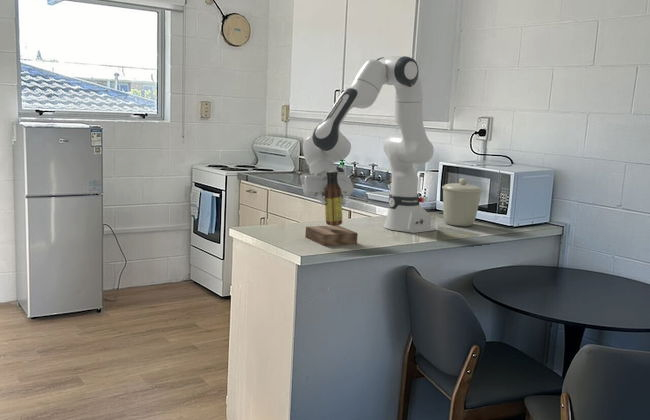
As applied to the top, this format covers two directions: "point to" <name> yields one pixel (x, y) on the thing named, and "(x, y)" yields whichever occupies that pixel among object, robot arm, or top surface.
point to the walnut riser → (331, 235)
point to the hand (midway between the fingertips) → (334, 204)
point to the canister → (460, 203)
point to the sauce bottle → (333, 200)
